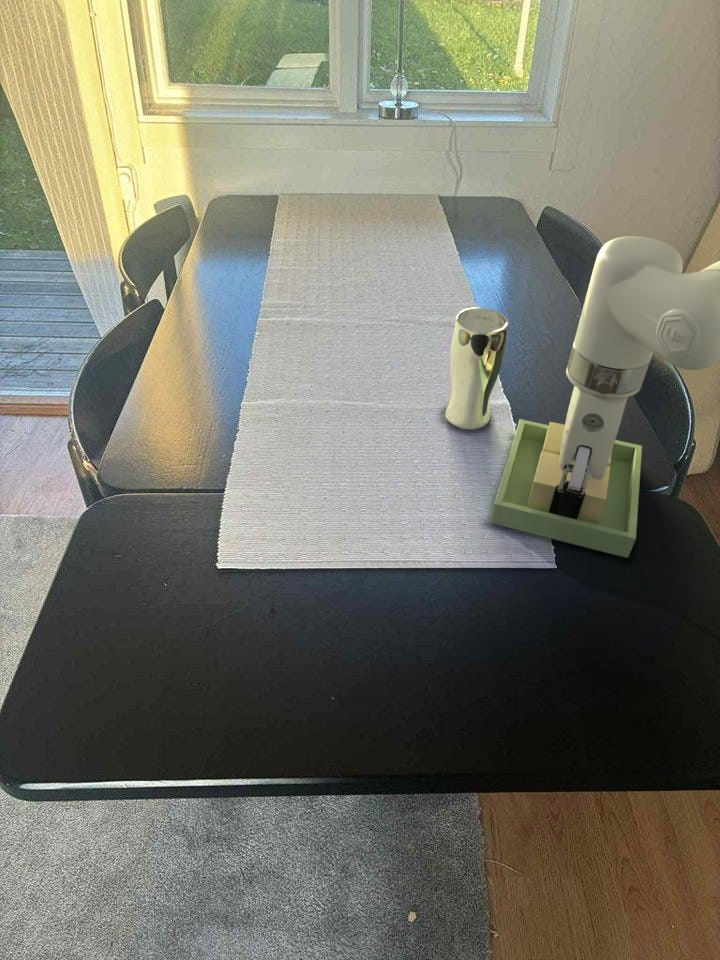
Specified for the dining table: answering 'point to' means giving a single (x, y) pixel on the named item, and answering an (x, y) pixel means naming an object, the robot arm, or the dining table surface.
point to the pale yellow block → (557, 439)
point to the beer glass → (475, 365)
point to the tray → (606, 536)
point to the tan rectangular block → (551, 476)
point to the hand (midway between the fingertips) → (566, 496)
